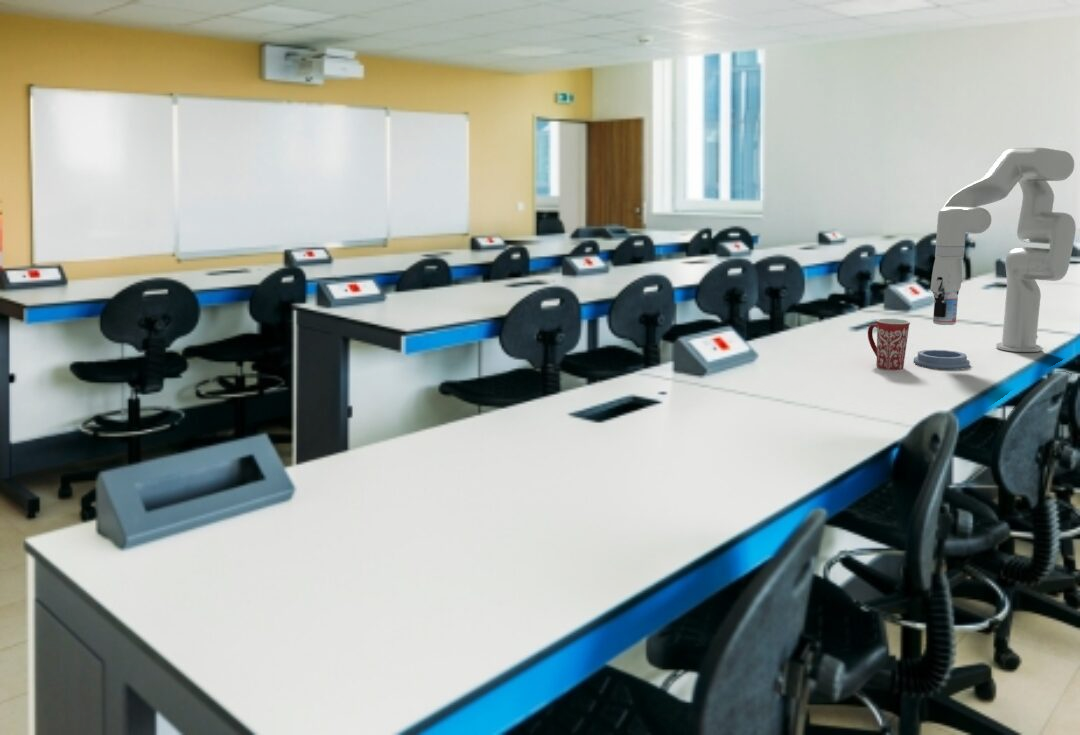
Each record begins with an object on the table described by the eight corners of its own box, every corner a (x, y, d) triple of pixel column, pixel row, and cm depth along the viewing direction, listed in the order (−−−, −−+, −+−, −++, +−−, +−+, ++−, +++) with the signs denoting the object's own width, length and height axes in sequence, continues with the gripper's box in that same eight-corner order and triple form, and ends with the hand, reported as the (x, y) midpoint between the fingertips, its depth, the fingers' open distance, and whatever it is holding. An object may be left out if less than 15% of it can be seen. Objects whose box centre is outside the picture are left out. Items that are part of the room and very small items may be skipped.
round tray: (927, 357, 284) (928, 347, 283) (978, 363, 273) (979, 353, 272) (904, 364, 274) (904, 354, 273) (956, 371, 263) (956, 361, 262)
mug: (914, 368, 268) (917, 321, 265) (891, 372, 264) (894, 324, 261) (879, 361, 279) (882, 316, 276) (857, 364, 274) (859, 318, 272)
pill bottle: (957, 325, 267) (961, 286, 265) (935, 325, 269) (938, 285, 266) (953, 322, 273) (956, 283, 271) (930, 322, 274) (933, 283, 272)
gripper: (949, 250, 275) (944, 311, 279) (922, 253, 264) (918, 317, 267) (975, 251, 270) (970, 313, 274) (949, 255, 258) (944, 320, 262)
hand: (944, 314), depth 270 cm, fingers closed on pill bottle, 6 cm apart
